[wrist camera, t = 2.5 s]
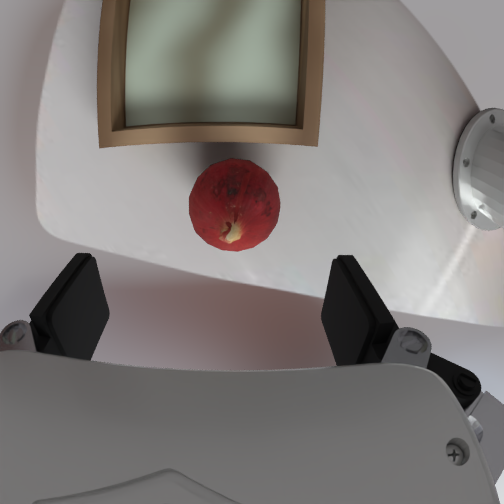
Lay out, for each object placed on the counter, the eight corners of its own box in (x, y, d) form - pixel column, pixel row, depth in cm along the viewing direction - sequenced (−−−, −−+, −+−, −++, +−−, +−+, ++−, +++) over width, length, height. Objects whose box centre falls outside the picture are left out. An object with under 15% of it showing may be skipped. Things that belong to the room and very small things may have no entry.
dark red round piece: (200, 147, 20) (177, 172, 13) (279, 155, 21) (298, 185, 14) (195, 219, 23) (176, 276, 16) (268, 227, 24) (278, 285, 17)
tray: (313, -28, 14) (324, -46, 10) (306, 139, 20) (317, 146, 17) (126, -22, 13) (109, -37, 10) (119, 140, 20) (99, 148, 17)
